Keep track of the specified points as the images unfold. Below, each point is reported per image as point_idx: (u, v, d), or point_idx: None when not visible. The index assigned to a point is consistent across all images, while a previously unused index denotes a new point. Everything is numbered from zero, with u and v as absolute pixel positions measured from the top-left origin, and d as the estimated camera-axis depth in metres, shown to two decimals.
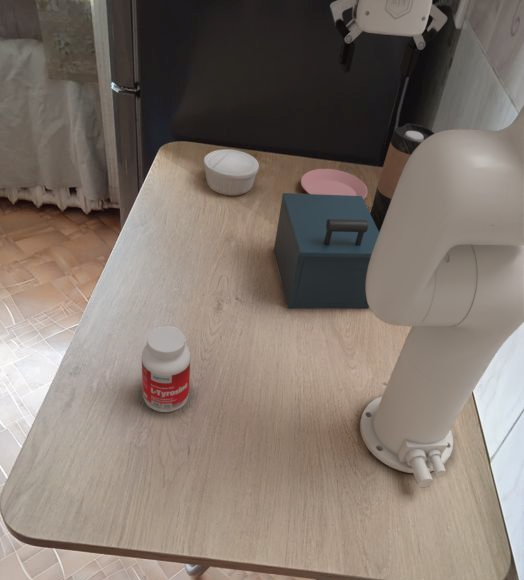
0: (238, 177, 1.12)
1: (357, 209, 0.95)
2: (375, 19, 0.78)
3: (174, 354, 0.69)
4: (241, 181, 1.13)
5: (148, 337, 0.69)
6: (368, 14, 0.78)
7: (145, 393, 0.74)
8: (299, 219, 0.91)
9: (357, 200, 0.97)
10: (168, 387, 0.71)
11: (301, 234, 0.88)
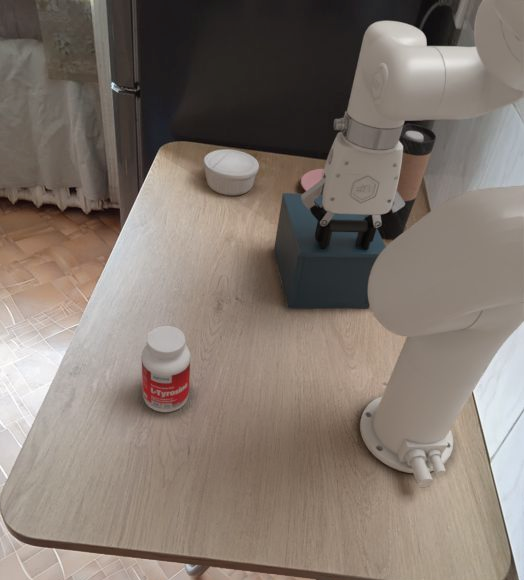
0: (238, 177, 1.12)
1: None
2: (340, 203, 0.79)
3: (174, 354, 0.69)
4: (241, 181, 1.13)
5: (148, 337, 0.69)
6: (333, 199, 0.78)
7: (145, 393, 0.74)
8: (299, 219, 0.91)
9: None
10: (168, 387, 0.71)
11: (301, 235, 0.88)
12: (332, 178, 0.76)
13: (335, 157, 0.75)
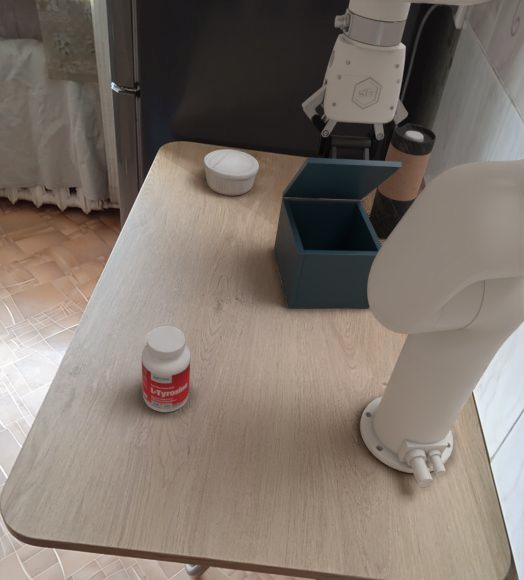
0: (238, 177, 1.12)
1: None
2: (342, 109, 0.77)
3: (174, 354, 0.69)
4: (241, 181, 1.13)
5: (148, 337, 0.69)
6: (335, 105, 0.77)
7: (145, 393, 0.74)
8: None
9: None
10: (168, 387, 0.71)
11: None
12: (334, 80, 0.75)
13: (336, 57, 0.74)
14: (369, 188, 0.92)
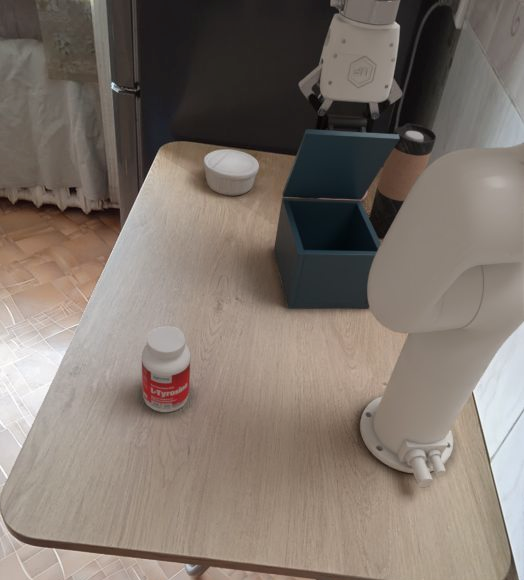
0: (238, 177, 1.12)
1: None
2: (338, 88, 0.79)
3: (174, 354, 0.69)
4: (241, 181, 1.13)
5: (148, 337, 0.69)
6: (331, 83, 0.79)
7: (145, 393, 0.74)
8: None
9: None
10: (168, 387, 0.71)
11: None
12: (329, 59, 0.77)
13: (332, 36, 0.75)
14: (369, 177, 0.92)
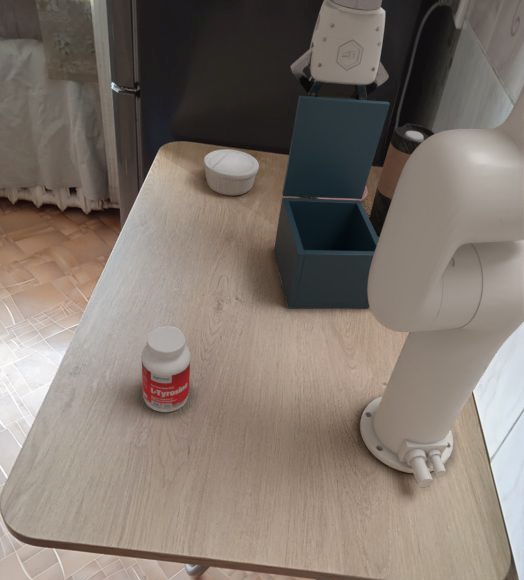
0: (238, 177, 1.12)
1: None
2: (327, 70, 0.84)
3: (174, 354, 0.69)
4: (241, 181, 1.13)
5: (148, 337, 0.69)
6: (320, 66, 0.83)
7: (145, 393, 0.74)
8: None
9: None
10: (168, 387, 0.71)
11: None
12: (319, 42, 0.81)
13: (322, 21, 0.80)
14: (366, 163, 0.93)
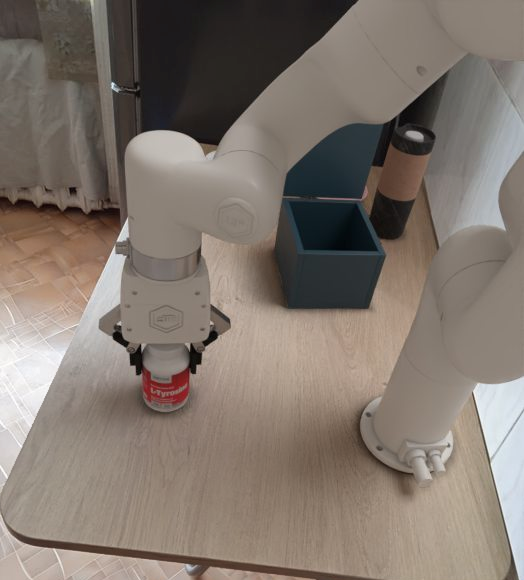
0: None
1: None
2: (141, 334, 0.65)
3: (174, 354, 0.69)
4: None
5: None
6: (131, 330, 0.64)
7: (145, 393, 0.74)
8: None
9: None
10: (168, 387, 0.71)
11: None
12: (123, 308, 0.62)
13: (122, 285, 0.61)
14: (366, 163, 0.93)
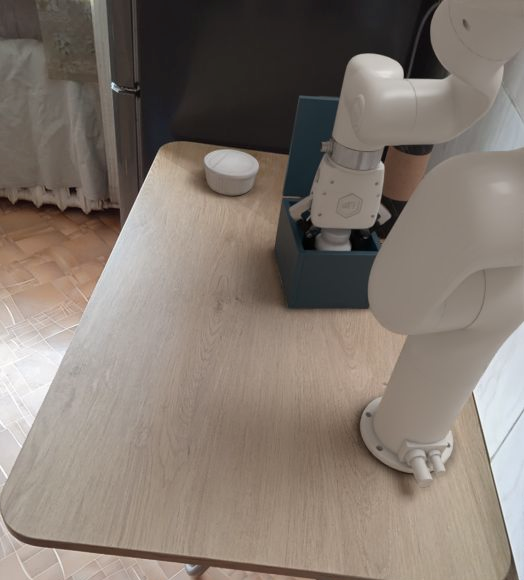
0: (238, 177, 1.12)
1: None
2: (327, 219, 0.85)
3: (344, 239, 0.89)
4: (241, 181, 1.13)
5: None
6: (320, 215, 0.84)
7: None
8: None
9: None
10: None
11: None
12: (319, 196, 0.82)
13: (321, 177, 0.81)
14: None
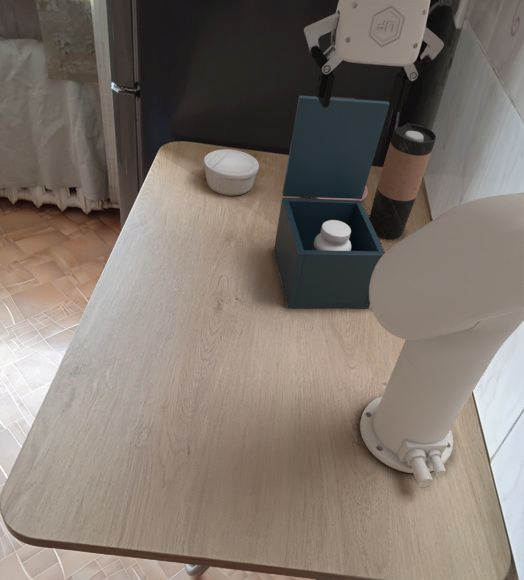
0: (238, 177, 1.12)
1: None
2: (357, 47, 0.66)
3: (344, 239, 0.89)
4: (241, 181, 1.13)
5: (323, 226, 0.89)
6: (349, 41, 0.65)
7: None
8: None
9: None
10: None
11: None
12: (348, 10, 0.63)
13: None
14: (366, 163, 0.93)
